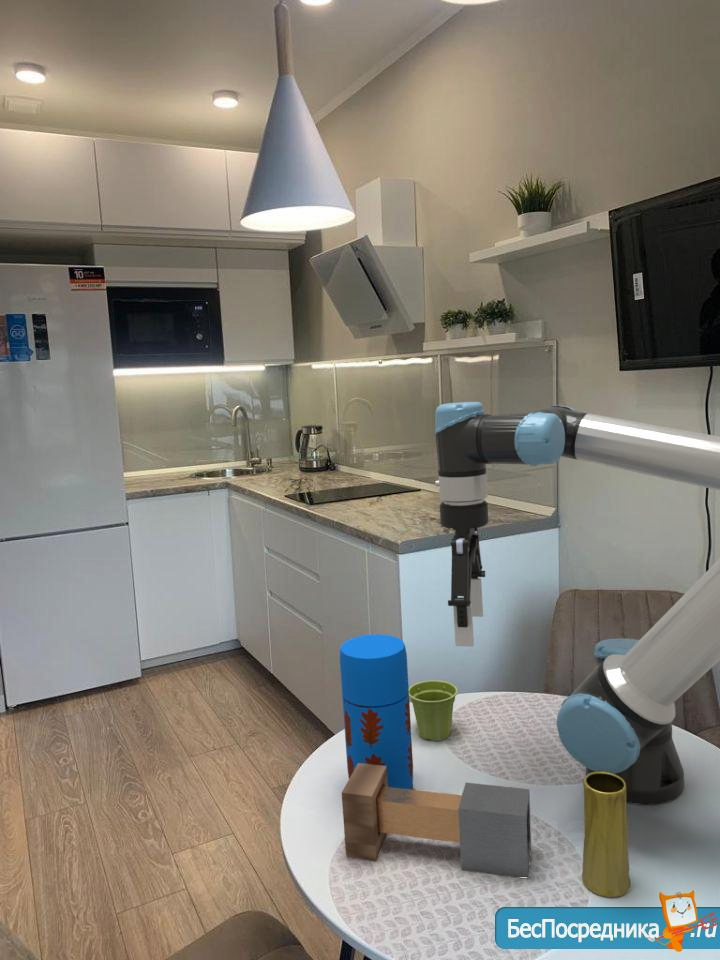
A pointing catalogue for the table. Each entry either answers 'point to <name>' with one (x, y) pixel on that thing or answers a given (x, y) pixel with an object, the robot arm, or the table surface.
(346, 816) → the socket block
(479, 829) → the sleeve
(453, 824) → the rectangular peg
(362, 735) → the thermos
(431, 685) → the plant pot
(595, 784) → the vase
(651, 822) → the table surface
